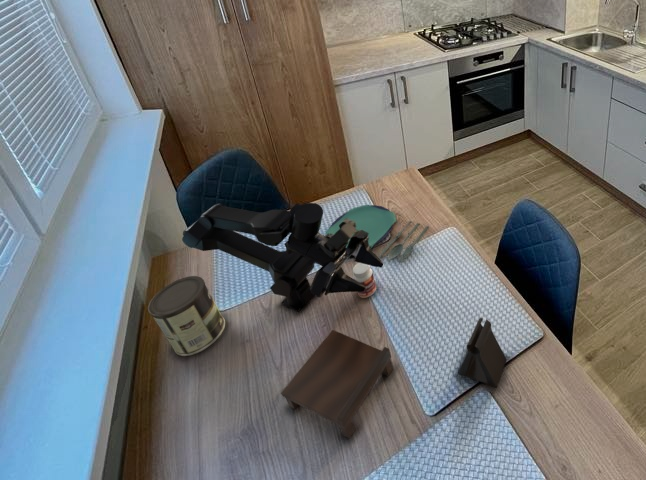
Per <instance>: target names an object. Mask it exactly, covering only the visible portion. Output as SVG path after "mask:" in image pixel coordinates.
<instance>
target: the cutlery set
mask: <svg viewBox="0 0 646 480" xmlns="http://www.w3.org/2000/svg"><path fill="white" fill-rule="evenodd" d="M346 218H347V219H350V220H352V221H354V222H355V223H356V227H355V228H356V229H357V230H358V231H360V230H363V231H365V232H367V233H369V234H368V236H367V237H368V238H369V240H368V243H369V247H370V248H371V249H372V248H373V247H375V246H376V245H378V244H379V243H381V242H382V241H383V240H385V239H386V238H387V237H388V235H390V233H391V231H392V230H393V228H394V224H395V223H397V221H398V220H397V218H396V213H394V211H391V210H390V209H389V208H387V207H385V206H383V205H376V204H371V205H370V204H363V205H360V206H356V207H353V208H350V209H349V210H347V211H345V212H344V213H343V214H341V215H340V216H338V217H337V218H336V219H335V220H334V221H333V222H332V223H331V225H330V226H329V227H328V228H327V229H326V231H325V233H324V236H326V235H327V234H328V233H331V234H333V235H334V234H335V233H336V232H337V231H338V230H339V229H340V227H339V224H341V223H342V222H343V221H344V220H345V219H346ZM410 224H412V221H411V220H409V222H408V223H407V224H406V225H405V226H404V228H402V229H401V230H400V231H399V232H397V234H396V235H395V236H394V238H393V239H392V240H390V242H389V243H387V245H386V246H385V247H384V248H383V250H382V251H381V252H380V257H382V256H383V255H384V254H385V253H386V252H387V251H388V250H389V249H390V247H391V246H392V245H393V244H394V243H395V242H396V241H397V240H399V239H400V237H401V236H402V234H403V232H405V230H407V229H406V228H408V226H409V225H410ZM420 226H421V223H419V222H417V223H416V224H415V225H414V226H413V228H412V229H411V230H410V231H409V233H408V234H407V235H406V237H405V238H404V240H403V241H402V243H398V244H396V245H394V246H393V247H392V248H391V249H390V251H389V252H388V256H387V258H388V259H393V258H396V257H398V256H399V255H400V254H401V253H402V252H403V253H402V254H401V256H400V257H399V259H398V260H397V262H399V263H401V264H402V263H404V262H405V260H406V259H407V258H408V257H409V256H410V255H411V254H412V253H413V249H414V247H415V246H416V245H417V244H418V242H419V241H421V238H423V236H424V235H425V233H426V232H427V231H428V230H429V229H430V228H429V227H430V226H429V225H425V227H424V228H423V230H422V231H421V232H420V234H419V235H418V237H417V238H416V239H415V240H414V241H413V242H412V244H410V245H409V246H407V247H406V249H404V244H405V243H406V242H407V240H408V239H409V238H410V237H411V235H412V234H413V233H414V232H415V231H416V230H417V229H418V227H420ZM354 234H355V233H354ZM354 234H353V235H354ZM353 235H352V236H353ZM350 239H351V238H350ZM350 239H349V240H348V241H350ZM348 243H349V242H348ZM347 246H348V244H347ZM347 246H346V248H347ZM403 250H404V251H403Z"/></svg>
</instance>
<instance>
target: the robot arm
mask: <svg viewBox="0 0 646 480" xmlns="http://www.w3.org/2000/svg"><path fill="white" fill-rule="evenodd" d="M323 215H324V209H323V207H322V206H321V204H319V203H316V202H314V203H313V202H306V203H302V204H300V203H298V202H296V203H294V204H293V205H292V206H291V208H290V209H289V210H287V209H270V210H266V211H264V212H257V211H253V210H247V209H241V208H236V207H231V206H226V204H223V203H222V202H221V203H220V202H219V203H216V204H214V205H212V206H211V207H209V208H208V209H207V210H206V211H204V212H203V213H202V214H201V215H200V217H198V219H197V220H196V221H195V222H193V223H192V224H191V225H190V226H188V227H187V228H186V229H185V230H183V232H182V238H181V241H182V243H183V244H184V245H185V246H186V247H188V248H191V249H195V250H198V251H202V252H207V251H215V250H219V251H221V252H223V253H226V254H228V255H230V256H232V257H235V258H236V259H239V260H241V261H244V262H246V263H248V264H250V265H252V266H255V267H257V268H260V269H261V270H263V271H266V272H268V273H269V275H270V277H271V279H272V281H273V284H272V285H271V286H270V287H269V289H270V290H271V292H272V293H273V294H274V295H276V296H277V295H278V296H281V297H285V298H284V299H283V300H282V301H281V302H280V304H281V306H283V307H285V308H288V309H290V310H292V311H295V312H297V313H301V312H302V311H303V309H305V308H306V306H308V305H309V304H310V302H311V301H312V300H313V299H314V298H315V297H318V298H321V297H322V296H323V295H324V296H328V295H330V294H338V293H357V292H364V291H365V289H366V287H365V286H364V285H363V284H361V283H360V282H358V281H356V280H355V279H353V277H351V276H350V275H347V274H346V273H345V271H344V269H343V266H344V263H346V262H347V261H348V259H350V260H352V259H354V262H356V263H363V264H367V265H369V266H370V267H376V268H383V267H384V262H383V261H382V260H381V259H380V258H379V256H378V255H377V254H376V253H375V252H374V251H373V249H372V248H370V247H369V243H368V240H369V238H368V237H367V236H368V234H369V233H367V232H365V231H363V230H360V231H358V230H357V229H356V228H355V227H356V223H355V222H354V221H352V220H350V219H347V218H346V219H345V220H344V221H343V222H342V223H341V224H339V227H340V229H339V230H338V231H337V232H336V233H335V234H334V235H333V234H331V233H328V234H327V235H326V236H325V234H322V233H320V230H321V225H322V220H323ZM241 233H242V234H241ZM354 233H355V234H354ZM243 234H247V235H251V236H255V238H256V240H255V239H252V238H250V237H249V236H246V235H243ZM353 234H354V235H353ZM352 235H353V236H352ZM287 237H288V238H287ZM286 238H287V241H286V242H285V243H284V244H283V245H284V246H285V250H277V249H275V248H273V247H278V245H280V244H281V243H282V242H283V241H284V240H285V239H286ZM350 238H351V239H350ZM349 239H350V241H348V240H349ZM348 242H349V243H348ZM347 244H348V246H347ZM346 246H347V248H346ZM315 264H317V265H319V266H321V267H320V268H318V270H317V271H316V273H315V275H314V277H313V280H312V282H311V284H310V281H309V279H308V275H309V274H310V273H311V272H312V271H313V270H314V269H315Z"/></svg>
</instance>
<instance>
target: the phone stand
mask: <svg viewBox="0 0 646 480" xmlns="http://www.w3.org/2000/svg"><path fill="white" fill-rule="evenodd" d="M483 319H484V318H482V317H480V318H478V320H477V322H476V324H475V326H474V329H473V331H472V334H471V336H470V338H469V340H468V342H467V344H466V350H467V351H466V353H465V356H464V358H463V360H462V362H461V365H460V367H459V369H458V372H457V374H458V375H459V376H461V377H462V376H463V377H465V378H468V379H470V380H473V381H477V382H479V383H482V384H485V385H487V386H489V387H492V388H498V385H499V382H500V380H501V376H502V374H503V370H504V368H505V366H506V362H507V357H506V356H505V355H506V354H505V353H504V351H503V350H502V347H501V346H500V344H499V342H498V339H497V338H496V336H495V334H494V332H493V330H492V323H491V321H490V320H488V319H485V321H484V323H483V325H482V322H483Z"/></svg>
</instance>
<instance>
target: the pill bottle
mask: <svg viewBox="0 0 646 480" xmlns="http://www.w3.org/2000/svg"><path fill="white" fill-rule="evenodd" d="M352 274H353V275H352V278H353V279H355V280H356V281H358V282H360V283H361V284H363V285H364V286H365V287H366V289H365V291H364V292H356V293H357V295H358V297H360V298H362V299H366V298H369V297H371V296H372V295H373V294H375V292H376V290H377V284H376V280H375V276H374V272H373V269H372V268H371V265H367V264H363V263H359V262H357V263H355V264H354V266H353V268H352Z"/></svg>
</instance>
